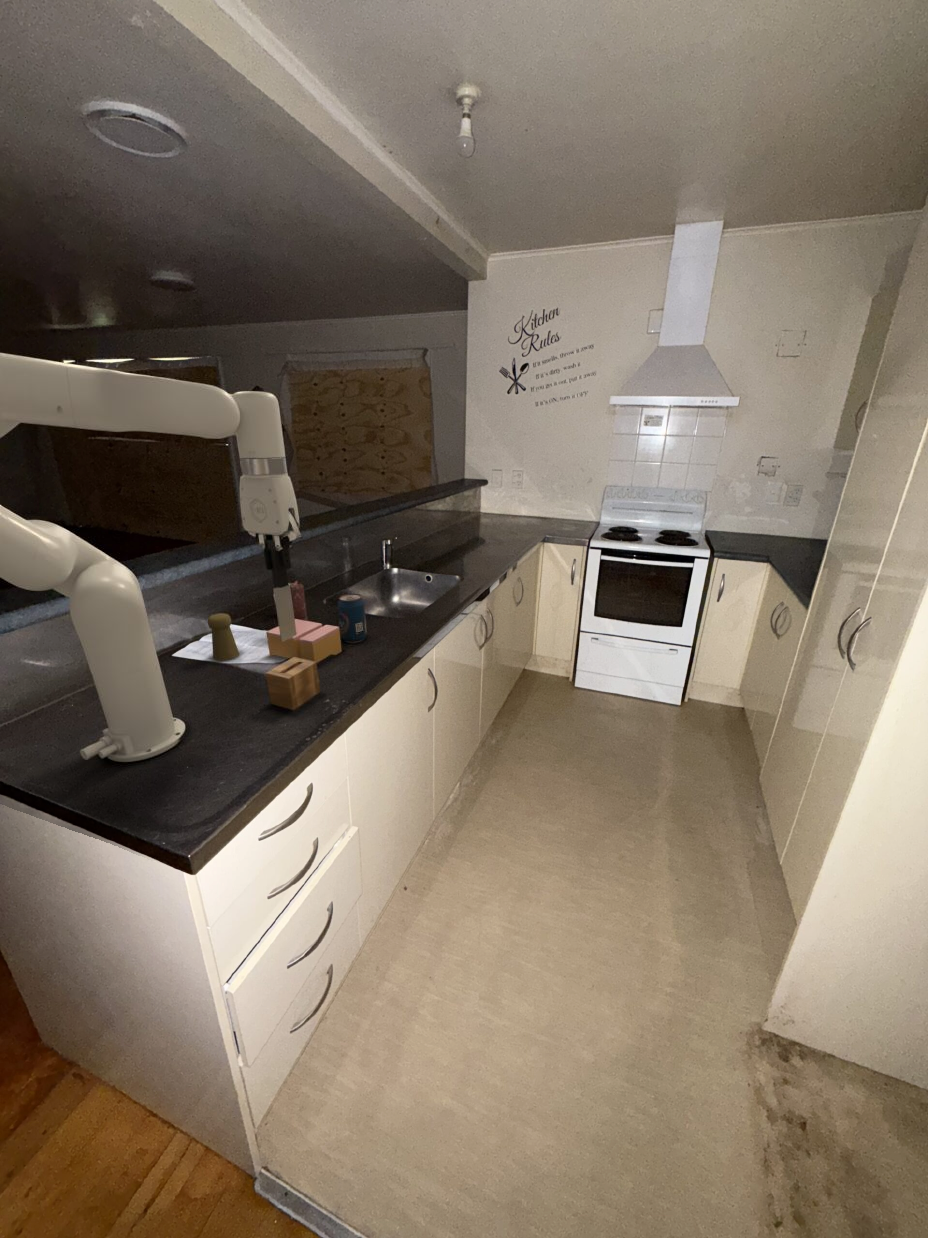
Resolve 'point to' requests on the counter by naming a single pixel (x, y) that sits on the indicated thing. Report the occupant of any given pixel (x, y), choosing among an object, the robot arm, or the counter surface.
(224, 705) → the counter surface
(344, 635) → the soda can
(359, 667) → the counter surface
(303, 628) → the cake
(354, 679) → the counter surface
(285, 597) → the knife
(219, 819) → the counter surface
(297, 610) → the can
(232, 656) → the olive pepper shaker
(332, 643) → the cake slice
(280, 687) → the knife block
